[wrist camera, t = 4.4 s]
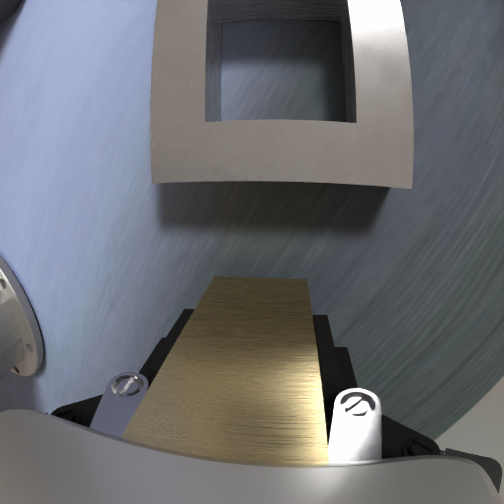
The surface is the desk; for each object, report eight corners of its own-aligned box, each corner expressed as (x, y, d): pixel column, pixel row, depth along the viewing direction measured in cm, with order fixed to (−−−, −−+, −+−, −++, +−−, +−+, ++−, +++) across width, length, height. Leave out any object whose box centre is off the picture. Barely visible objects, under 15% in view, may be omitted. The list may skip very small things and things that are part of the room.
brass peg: (300, 354, 14) (302, 528, 5) (219, 350, 14) (162, 511, 6) (306, 279, 13) (328, 463, 4) (214, 276, 13) (120, 438, 5)
